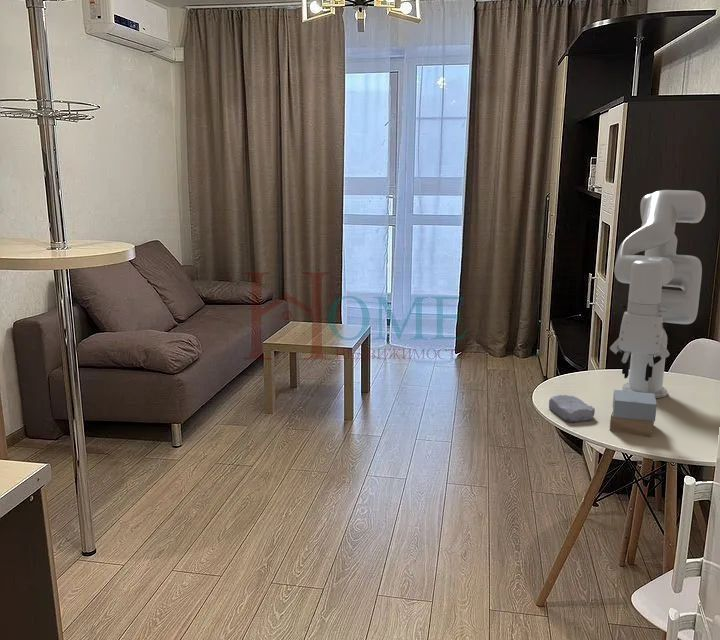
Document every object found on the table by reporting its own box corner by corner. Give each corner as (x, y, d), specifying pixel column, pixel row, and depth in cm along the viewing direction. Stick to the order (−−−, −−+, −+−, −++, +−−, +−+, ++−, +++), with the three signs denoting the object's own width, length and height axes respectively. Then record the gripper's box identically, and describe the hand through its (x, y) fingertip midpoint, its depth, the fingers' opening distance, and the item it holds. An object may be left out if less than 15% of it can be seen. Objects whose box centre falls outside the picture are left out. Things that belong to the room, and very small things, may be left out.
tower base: (613, 420, 191) (615, 405, 190) (653, 426, 186) (655, 410, 185) (609, 431, 183) (610, 415, 182) (650, 438, 179) (652, 421, 178)
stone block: (575, 411, 201) (544, 407, 199) (579, 395, 200) (548, 391, 198) (597, 427, 190) (565, 424, 187) (602, 411, 189) (569, 407, 186)
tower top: (612, 405, 189) (614, 389, 188) (652, 409, 186) (654, 393, 185) (613, 416, 181) (614, 400, 180) (655, 421, 178) (656, 404, 177)
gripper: (680, 309, 177) (673, 379, 181) (610, 303, 184) (604, 370, 188) (678, 315, 170) (671, 387, 174) (606, 308, 178) (600, 377, 182)
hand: (636, 377), depth 181 cm, fingers open, 4 cm apart
